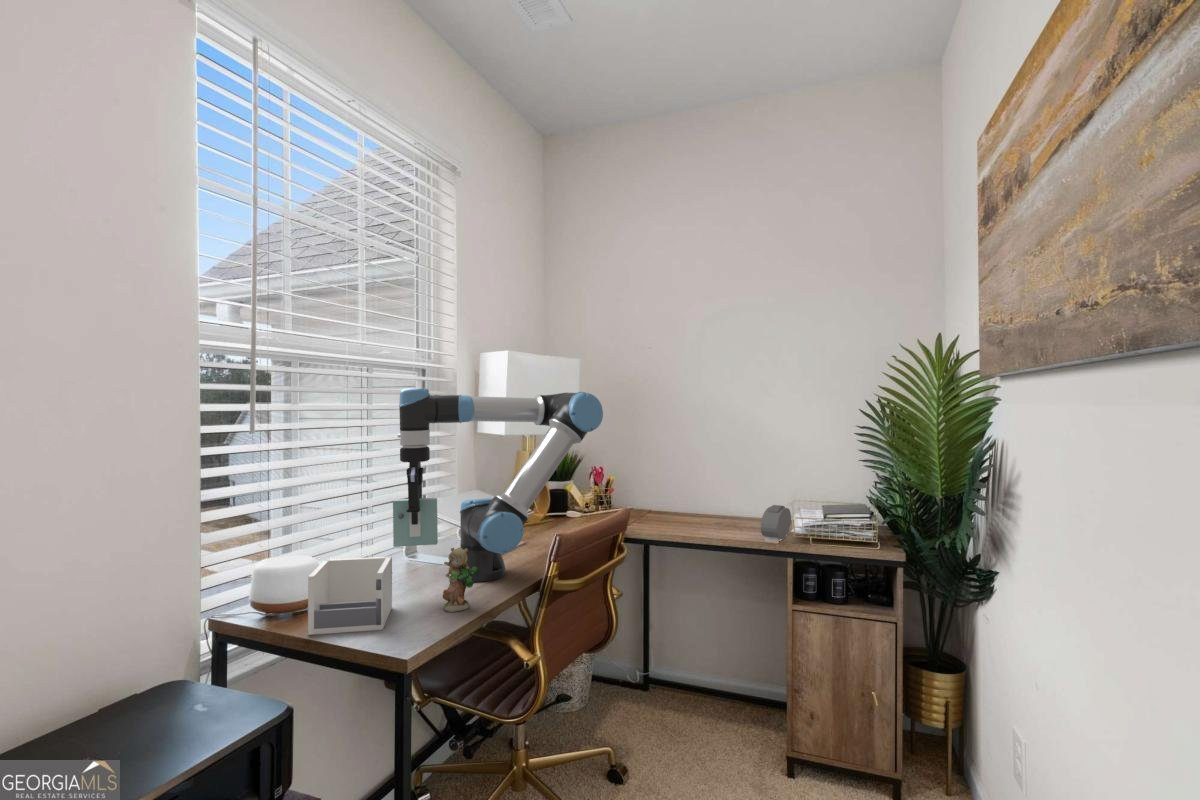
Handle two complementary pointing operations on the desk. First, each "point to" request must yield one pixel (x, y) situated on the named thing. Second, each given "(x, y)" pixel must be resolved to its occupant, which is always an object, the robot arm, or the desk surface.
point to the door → (403, 526)
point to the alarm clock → (775, 523)
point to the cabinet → (349, 595)
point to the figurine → (458, 580)
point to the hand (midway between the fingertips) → (415, 534)
